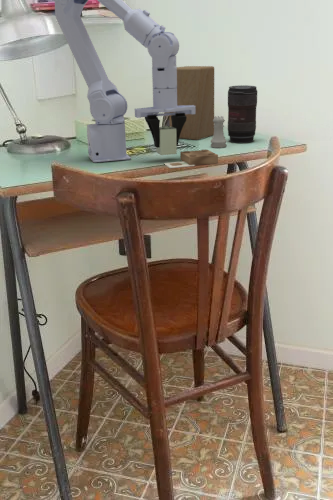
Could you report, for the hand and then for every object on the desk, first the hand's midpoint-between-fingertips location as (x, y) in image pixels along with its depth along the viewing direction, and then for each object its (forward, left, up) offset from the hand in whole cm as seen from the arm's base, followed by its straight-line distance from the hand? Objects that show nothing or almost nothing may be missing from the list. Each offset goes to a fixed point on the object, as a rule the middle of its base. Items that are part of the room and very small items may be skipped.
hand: (166, 146), depth 131 cm
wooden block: (+17, +30, -4) cm, 35 cm away
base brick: (+7, -5, -3) cm, 9 cm away
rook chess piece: (+18, +11, -4) cm, 21 cm away
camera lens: (+27, +16, -4) cm, 32 cm away
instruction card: (+1, -7, -3) cm, 8 cm away
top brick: (0, 0, -2) cm, 2 cm away
